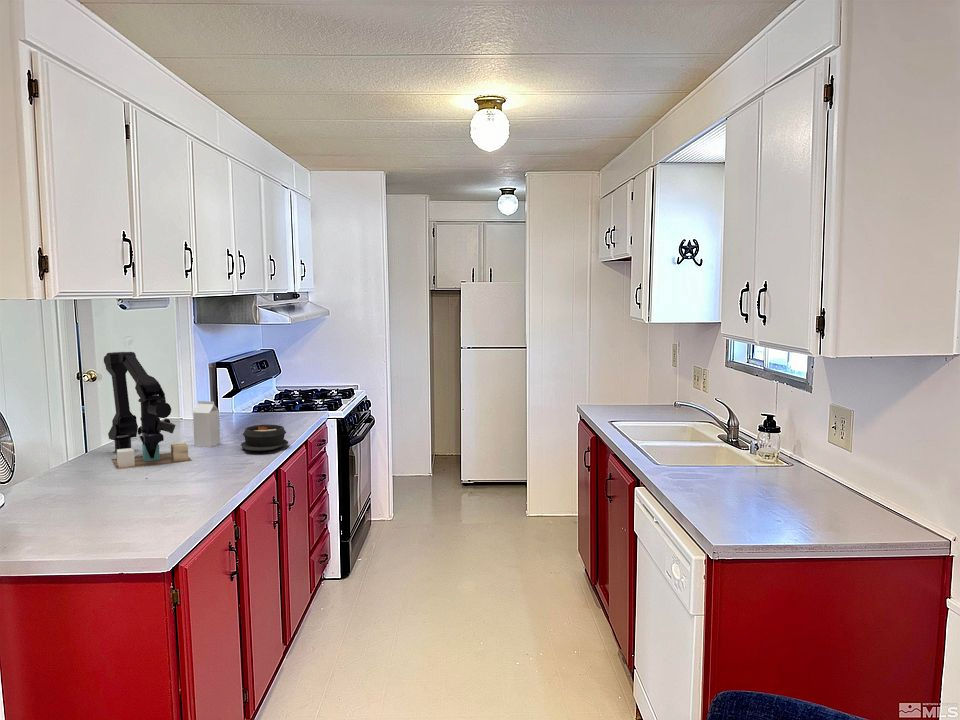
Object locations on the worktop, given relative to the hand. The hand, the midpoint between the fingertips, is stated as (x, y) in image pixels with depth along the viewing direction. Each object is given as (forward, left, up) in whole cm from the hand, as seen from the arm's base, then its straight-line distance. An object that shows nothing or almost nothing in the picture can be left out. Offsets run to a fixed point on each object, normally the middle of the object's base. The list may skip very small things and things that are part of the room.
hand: (151, 456), depth 264 cm
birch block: (+5, +9, -1) cm, 10 cm away
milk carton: (-15, +23, -2) cm, 28 cm away
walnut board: (+1, 0, -2) cm, 2 cm away
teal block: (0, 0, -1) cm, 1 cm away
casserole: (-3, +43, -2) cm, 43 cm away
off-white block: (+5, -9, -1) cm, 10 cm away
